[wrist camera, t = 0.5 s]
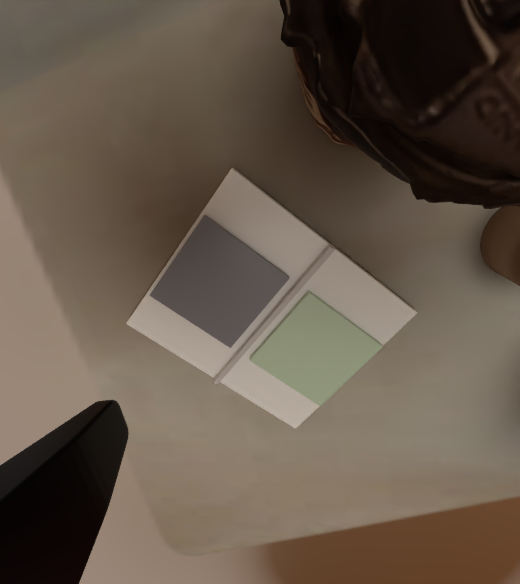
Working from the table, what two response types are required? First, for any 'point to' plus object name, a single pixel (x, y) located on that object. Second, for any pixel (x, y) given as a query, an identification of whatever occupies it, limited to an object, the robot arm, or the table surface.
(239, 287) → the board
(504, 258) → the brown tapered cylinder
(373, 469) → the table surface
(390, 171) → the coffee cup
